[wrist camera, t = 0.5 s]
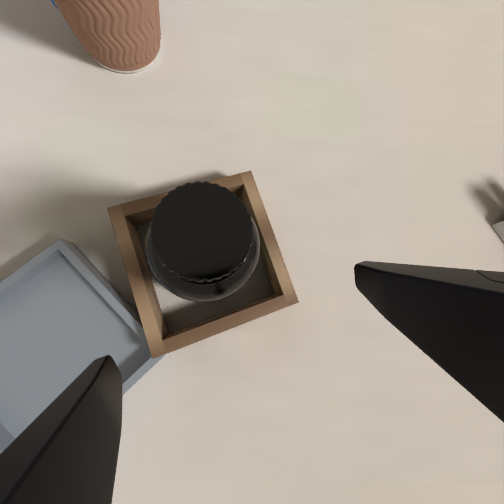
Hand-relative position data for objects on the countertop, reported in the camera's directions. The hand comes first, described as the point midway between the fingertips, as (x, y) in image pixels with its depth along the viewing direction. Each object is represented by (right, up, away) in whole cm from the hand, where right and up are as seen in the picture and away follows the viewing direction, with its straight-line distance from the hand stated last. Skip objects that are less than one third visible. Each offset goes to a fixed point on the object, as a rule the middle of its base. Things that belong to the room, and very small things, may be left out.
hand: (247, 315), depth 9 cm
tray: (-15, -6, +11) cm, 20 cm away
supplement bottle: (-4, +1, +15) cm, 15 cm away
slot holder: (-4, +1, +14) cm, 15 cm away
